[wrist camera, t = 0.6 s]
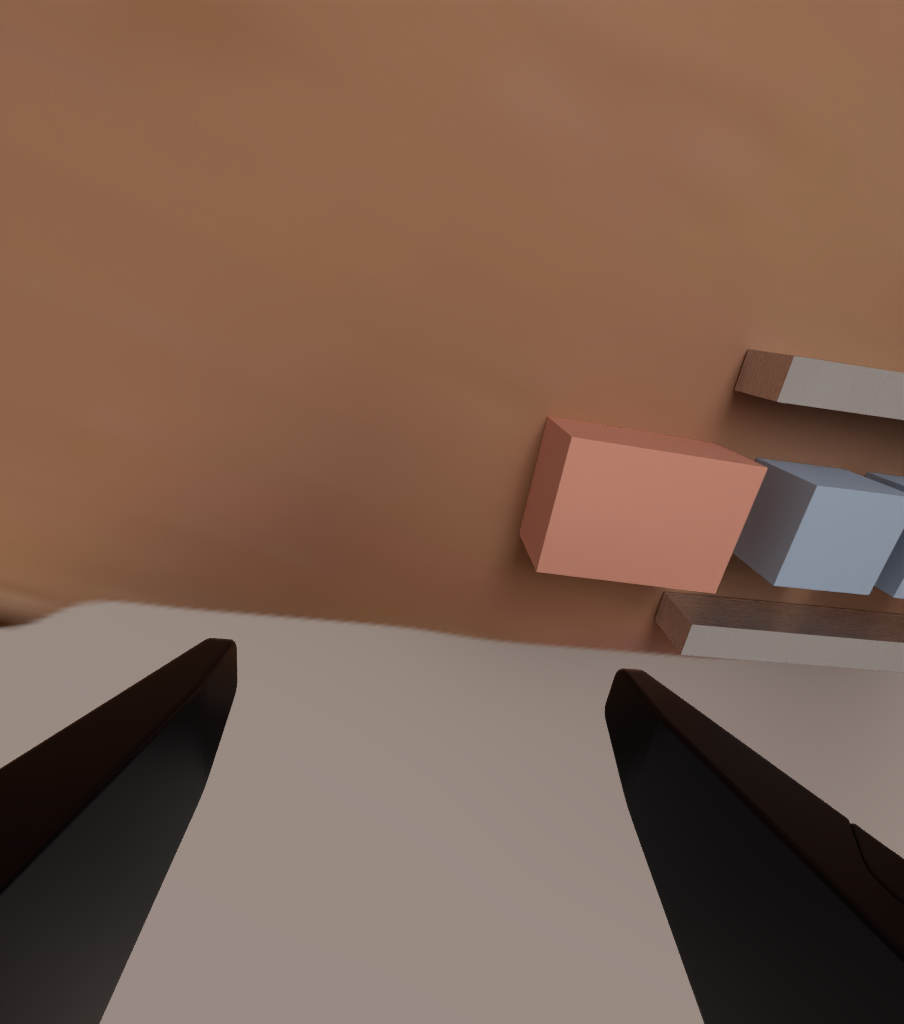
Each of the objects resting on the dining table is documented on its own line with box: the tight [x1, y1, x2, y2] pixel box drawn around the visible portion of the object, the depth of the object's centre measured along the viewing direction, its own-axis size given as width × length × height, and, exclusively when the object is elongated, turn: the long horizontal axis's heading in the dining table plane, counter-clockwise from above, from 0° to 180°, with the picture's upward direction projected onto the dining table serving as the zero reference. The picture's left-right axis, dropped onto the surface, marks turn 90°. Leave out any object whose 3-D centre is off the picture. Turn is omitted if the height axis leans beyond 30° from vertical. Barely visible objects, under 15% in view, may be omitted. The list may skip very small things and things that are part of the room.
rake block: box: [519, 416, 768, 594], centre depth 19 cm, size 7×5×4 cm
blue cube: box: [733, 458, 904, 595], centre depth 20 cm, size 4×4×4 cm
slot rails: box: [655, 349, 904, 672], centre depth 21 cm, size 12×12×2 cm
